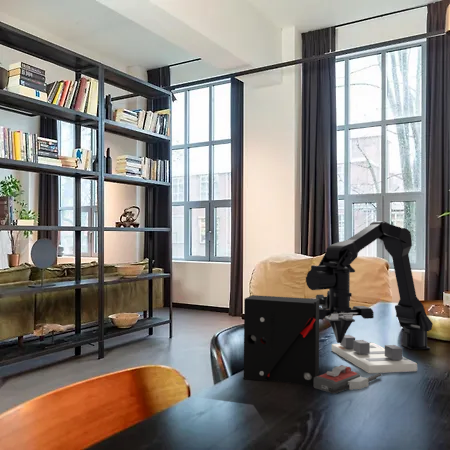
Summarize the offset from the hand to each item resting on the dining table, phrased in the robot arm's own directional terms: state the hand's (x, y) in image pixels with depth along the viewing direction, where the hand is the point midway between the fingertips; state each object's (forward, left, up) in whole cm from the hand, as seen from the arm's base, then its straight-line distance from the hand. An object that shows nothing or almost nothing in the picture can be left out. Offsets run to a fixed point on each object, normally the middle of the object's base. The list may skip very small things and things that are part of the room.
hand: (339, 342), depth 132 cm
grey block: (-7, 0, -3) cm, 7 cm away
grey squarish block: (-13, +7, -3) cm, 15 cm away
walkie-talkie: (+6, +19, -6) cm, 21 cm away
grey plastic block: (-6, -7, -3) cm, 10 cm away
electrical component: (+21, +13, -6) cm, 25 cm away
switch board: (-10, 0, -5) cm, 11 cm away
